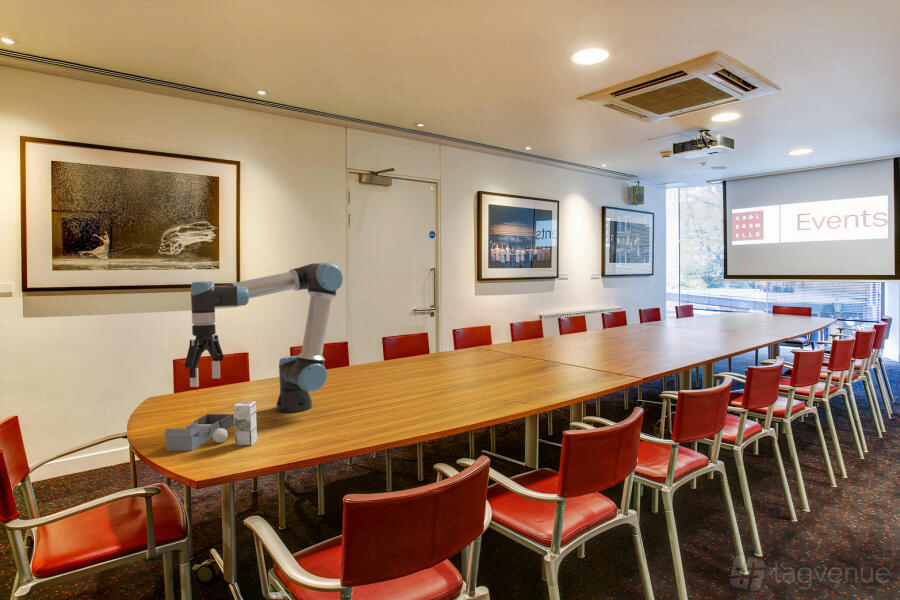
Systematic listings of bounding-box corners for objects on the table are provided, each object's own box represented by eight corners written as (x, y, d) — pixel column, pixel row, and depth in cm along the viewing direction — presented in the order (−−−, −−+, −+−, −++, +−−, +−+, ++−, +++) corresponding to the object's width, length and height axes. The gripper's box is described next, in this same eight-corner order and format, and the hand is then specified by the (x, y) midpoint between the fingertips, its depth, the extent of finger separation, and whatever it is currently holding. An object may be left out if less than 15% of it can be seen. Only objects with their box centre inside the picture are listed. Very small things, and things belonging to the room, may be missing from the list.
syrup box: (257, 440, 174) (256, 400, 173) (251, 446, 168) (250, 405, 167) (241, 440, 174) (240, 400, 173) (235, 446, 168) (233, 405, 167)
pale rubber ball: (230, 439, 175) (230, 426, 174) (223, 444, 170) (223, 430, 169) (217, 439, 175) (216, 426, 174) (209, 444, 170) (209, 430, 169)
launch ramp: (190, 451, 164) (189, 429, 163) (164, 451, 164) (163, 429, 163) (219, 432, 182) (218, 413, 182) (196, 432, 183) (195, 413, 182)
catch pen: (221, 432, 182) (221, 421, 182) (194, 432, 183) (193, 421, 183) (233, 425, 191) (233, 413, 191) (207, 425, 192) (206, 414, 192)
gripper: (213, 320, 188) (215, 374, 189) (171, 328, 163) (173, 390, 164) (232, 320, 187) (233, 375, 188) (192, 328, 162) (194, 390, 164)
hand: (205, 382), depth 176 cm, fingers open, 13 cm apart
